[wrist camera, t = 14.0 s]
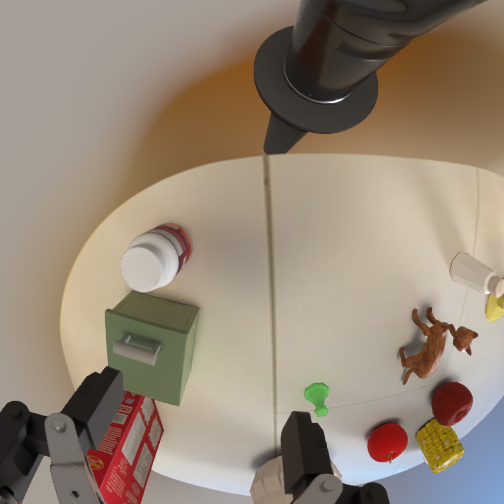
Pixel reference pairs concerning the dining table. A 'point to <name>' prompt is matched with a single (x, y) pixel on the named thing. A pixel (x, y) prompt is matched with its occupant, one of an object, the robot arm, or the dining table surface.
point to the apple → (451, 403)
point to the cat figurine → (435, 345)
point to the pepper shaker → (476, 275)
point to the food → (439, 445)
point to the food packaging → (127, 450)
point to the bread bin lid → (146, 356)
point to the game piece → (317, 397)
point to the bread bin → (164, 319)
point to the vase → (274, 483)
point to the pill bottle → (155, 257)
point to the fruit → (387, 442)
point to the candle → (494, 307)
